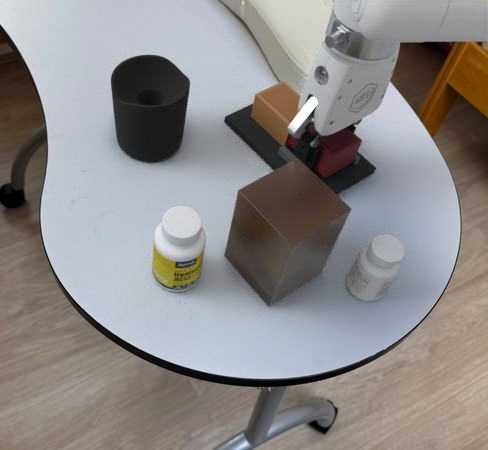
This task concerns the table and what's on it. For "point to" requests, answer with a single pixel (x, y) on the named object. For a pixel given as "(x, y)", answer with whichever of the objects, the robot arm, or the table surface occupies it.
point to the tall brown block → (284, 230)
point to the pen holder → (149, 106)
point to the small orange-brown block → (276, 110)
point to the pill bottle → (375, 268)
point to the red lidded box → (333, 150)
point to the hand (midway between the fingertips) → (321, 151)
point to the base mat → (292, 152)
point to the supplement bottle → (178, 249)
